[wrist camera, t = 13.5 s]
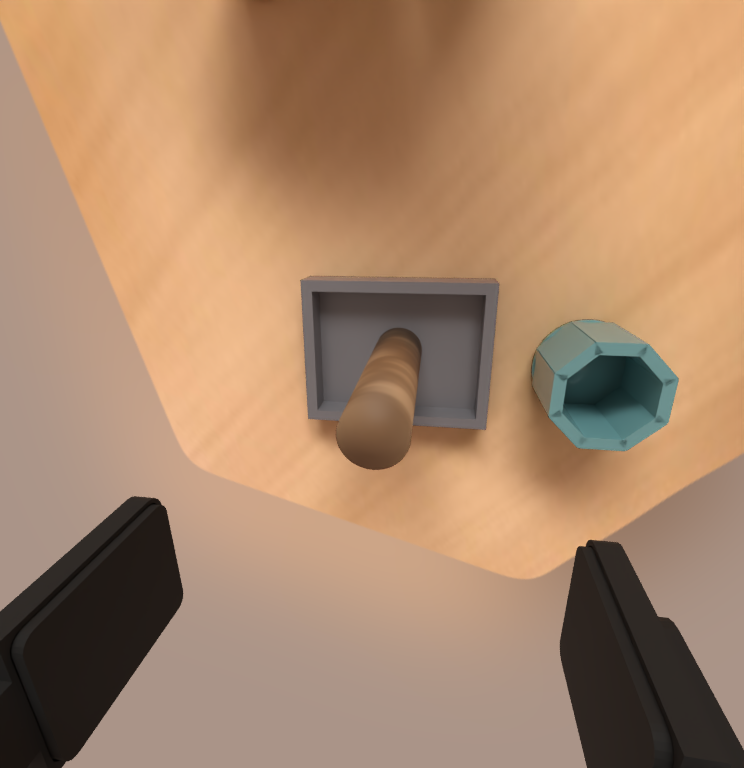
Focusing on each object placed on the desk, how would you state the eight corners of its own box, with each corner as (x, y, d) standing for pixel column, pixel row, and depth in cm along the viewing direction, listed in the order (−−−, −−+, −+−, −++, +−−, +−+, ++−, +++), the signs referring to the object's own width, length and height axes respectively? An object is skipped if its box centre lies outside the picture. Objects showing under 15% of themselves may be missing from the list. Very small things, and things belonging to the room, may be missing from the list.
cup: (643, 320, 33) (689, 343, 27) (624, 414, 35) (661, 455, 29) (537, 317, 34) (557, 339, 28) (526, 409, 36) (542, 447, 30)
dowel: (422, 328, 35) (411, 403, 21) (421, 372, 36) (409, 472, 22) (376, 327, 35) (334, 400, 21) (376, 370, 36) (337, 467, 22)
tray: (495, 278, 33) (499, 283, 31) (483, 415, 37) (485, 429, 35) (310, 276, 35) (300, 280, 33) (316, 406, 39) (308, 418, 37)
